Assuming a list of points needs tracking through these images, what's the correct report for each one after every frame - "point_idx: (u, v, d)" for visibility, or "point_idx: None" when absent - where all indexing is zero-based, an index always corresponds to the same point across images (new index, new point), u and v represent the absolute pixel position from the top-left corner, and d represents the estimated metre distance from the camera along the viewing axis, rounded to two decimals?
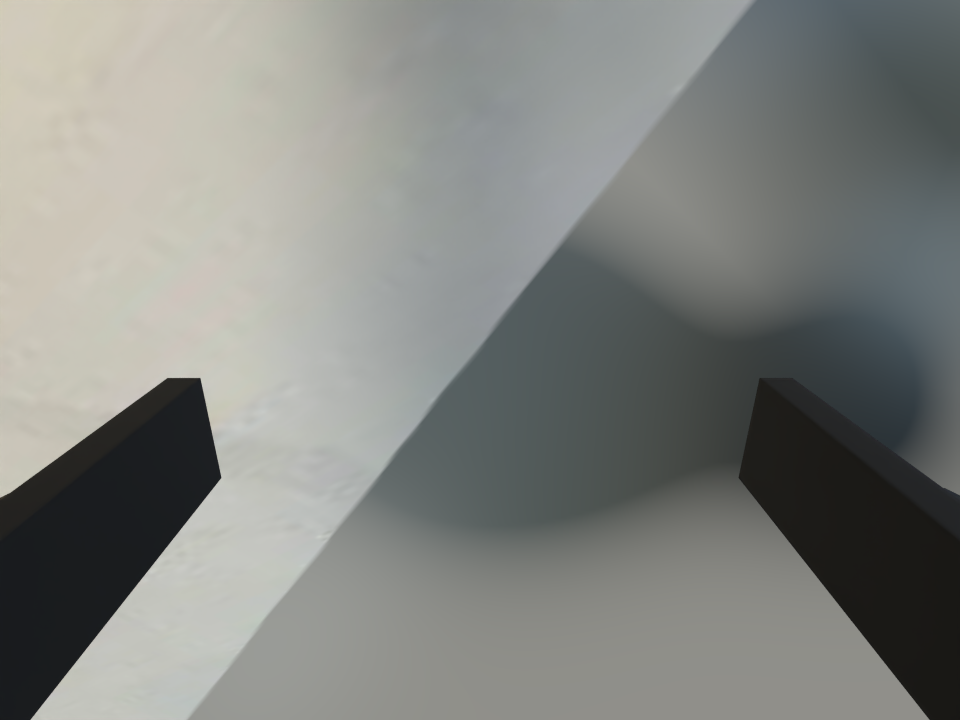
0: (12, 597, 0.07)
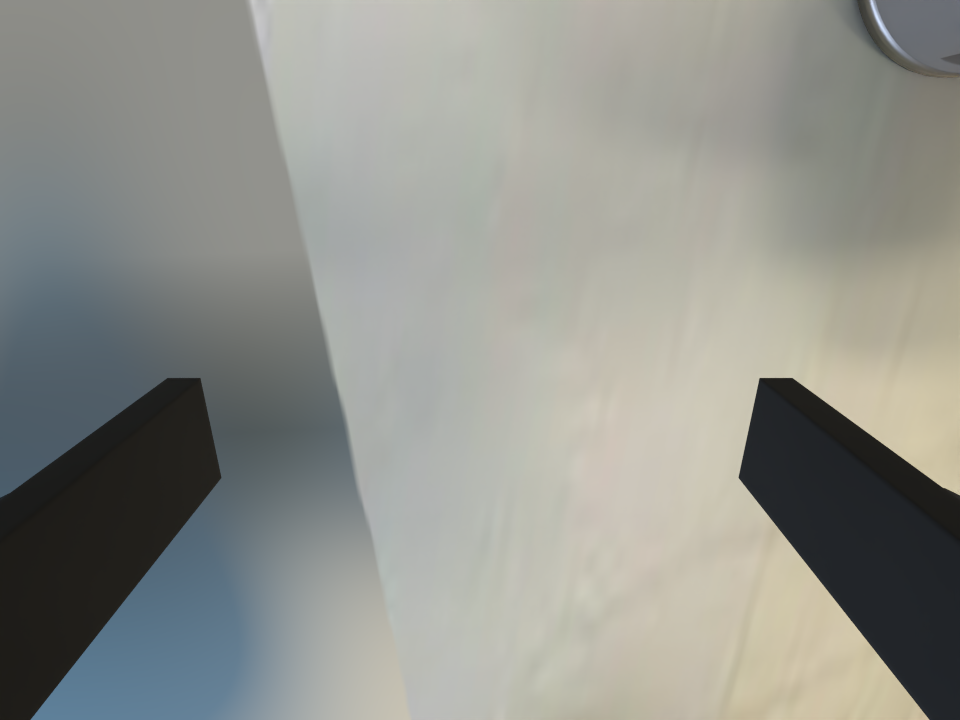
0: (12, 597, 0.07)
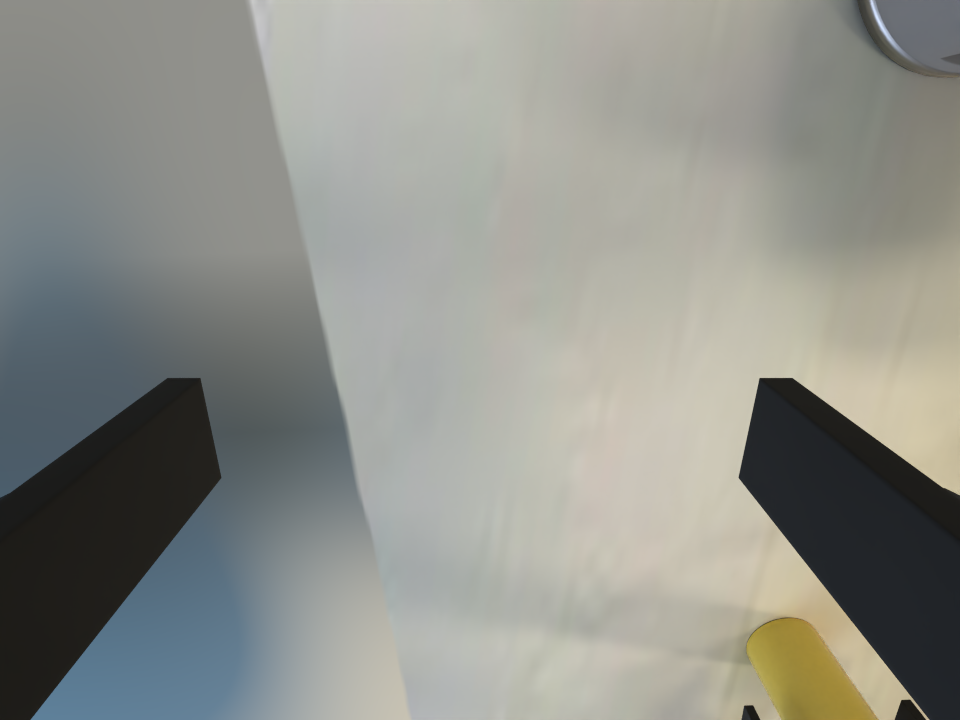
0: (12, 597, 0.07)
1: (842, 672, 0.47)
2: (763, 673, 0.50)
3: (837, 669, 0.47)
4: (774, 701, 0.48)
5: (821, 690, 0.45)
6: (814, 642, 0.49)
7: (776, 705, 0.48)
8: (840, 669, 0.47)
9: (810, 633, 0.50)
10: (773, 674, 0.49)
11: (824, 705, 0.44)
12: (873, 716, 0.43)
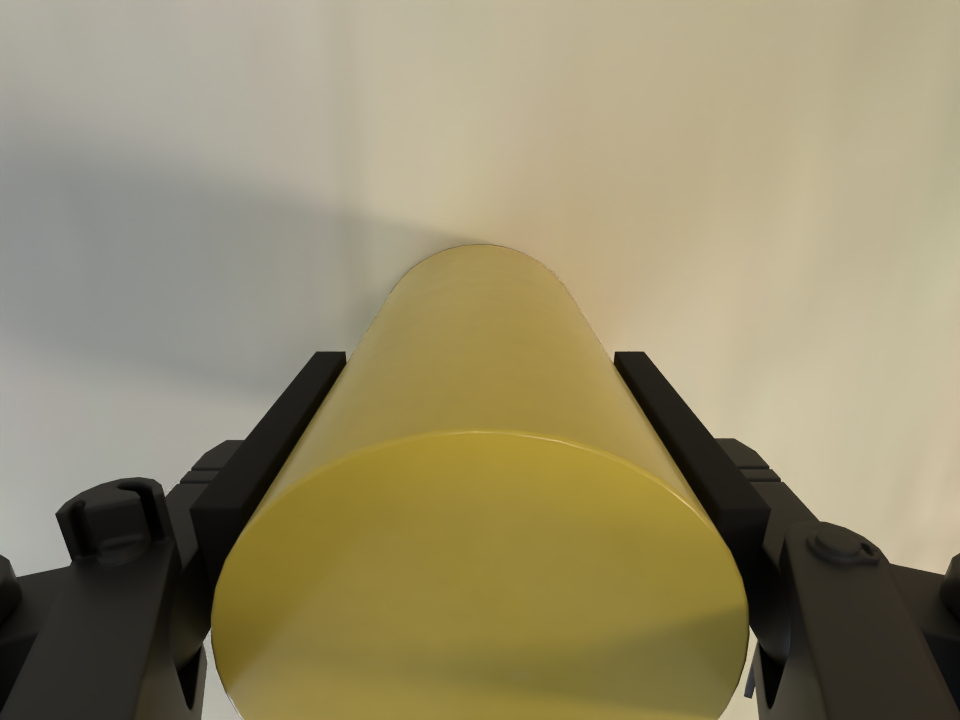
0: None
1: (564, 308, 0.12)
2: None
3: (543, 296, 0.12)
4: None
5: (416, 319, 0.10)
6: (512, 264, 0.14)
7: None
8: (562, 305, 0.12)
9: (521, 260, 0.15)
10: None
11: (386, 348, 0.09)
12: (604, 379, 0.08)
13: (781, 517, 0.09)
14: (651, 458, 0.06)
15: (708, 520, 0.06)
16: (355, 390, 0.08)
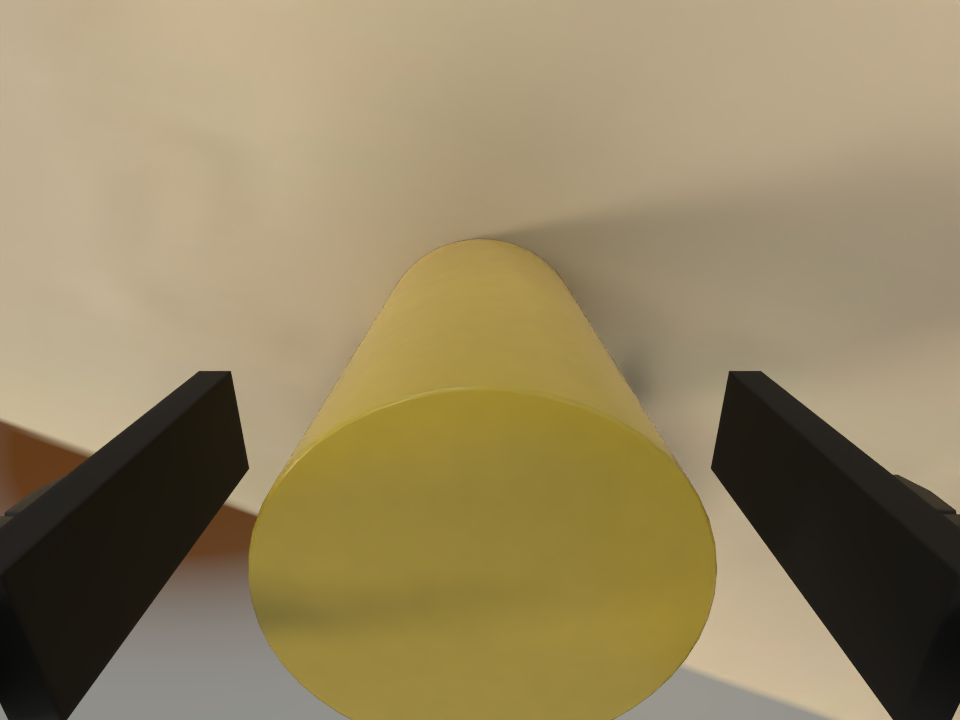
0: (72, 575, 0.08)
1: (558, 296, 0.13)
2: None
3: (540, 285, 0.13)
4: None
5: (423, 303, 0.11)
6: (511, 257, 0.15)
7: None
8: (557, 293, 0.13)
9: (519, 253, 0.16)
10: None
11: (397, 329, 0.10)
12: (593, 354, 0.10)
13: None
14: (630, 415, 0.07)
15: (678, 468, 0.07)
16: (371, 362, 0.09)
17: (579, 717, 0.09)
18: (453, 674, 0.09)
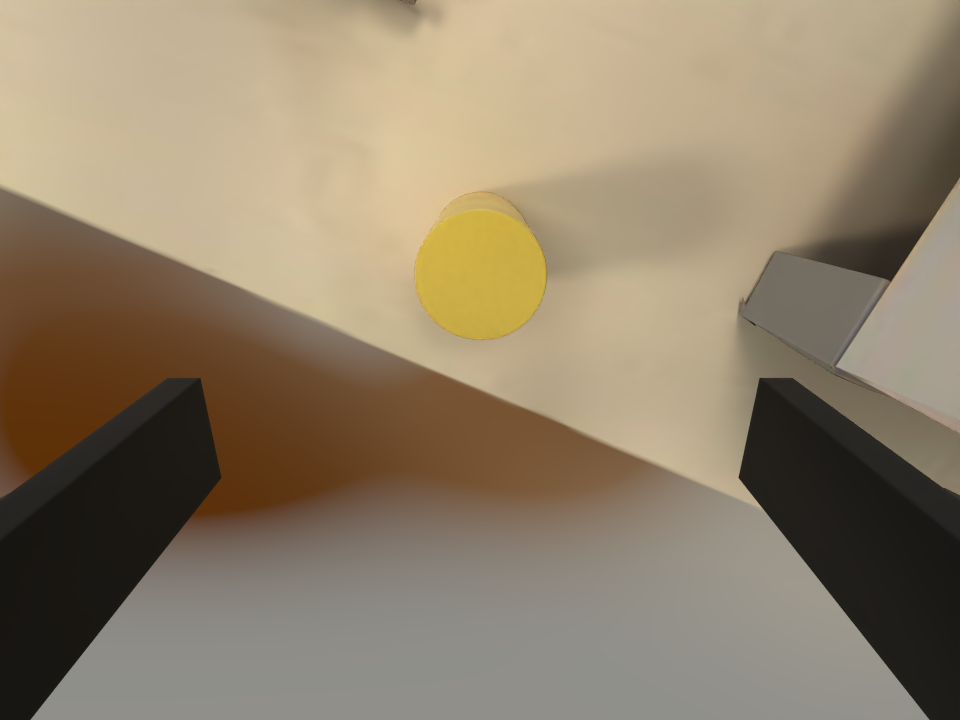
0: (12, 597, 0.07)
1: (511, 207, 0.33)
2: None
3: (503, 203, 0.33)
4: None
5: (459, 204, 0.31)
6: (493, 196, 0.35)
7: None
8: (511, 207, 0.33)
9: (497, 196, 0.37)
10: None
11: (452, 210, 0.30)
12: (516, 215, 0.30)
13: None
14: (520, 221, 0.27)
15: (532, 234, 0.27)
16: (446, 215, 0.29)
17: (510, 324, 0.29)
18: (472, 306, 0.29)
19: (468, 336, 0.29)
